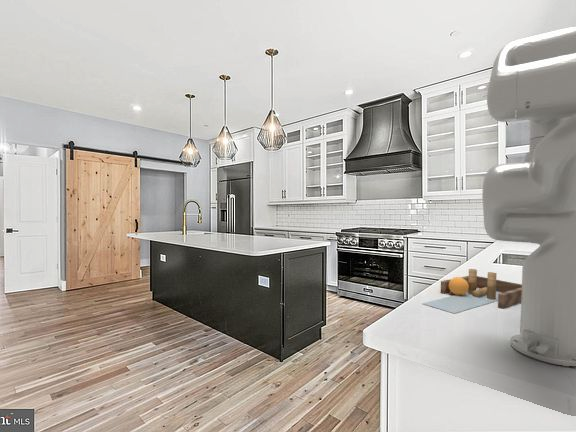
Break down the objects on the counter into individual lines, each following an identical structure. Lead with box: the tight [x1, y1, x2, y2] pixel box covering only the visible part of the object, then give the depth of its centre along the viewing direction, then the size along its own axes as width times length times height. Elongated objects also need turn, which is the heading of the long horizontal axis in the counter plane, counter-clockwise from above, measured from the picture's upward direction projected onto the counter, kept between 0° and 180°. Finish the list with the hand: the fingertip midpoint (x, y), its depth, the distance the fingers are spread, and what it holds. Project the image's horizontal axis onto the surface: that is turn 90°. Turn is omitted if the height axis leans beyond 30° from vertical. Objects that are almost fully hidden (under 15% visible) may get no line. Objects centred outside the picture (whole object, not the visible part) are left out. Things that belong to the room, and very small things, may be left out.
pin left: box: [467, 268, 478, 295], centre depth 106 cm, size 2×2×8 cm
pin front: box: [472, 287, 487, 297], centre depth 105 cm, size 2×2×8 cm
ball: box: [449, 276, 469, 295], centre depth 106 cm, size 6×6×6 cm
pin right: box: [487, 271, 498, 300], centre depth 101 cm, size 2×2×8 cm
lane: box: [421, 291, 502, 314], centre depth 100 cm, size 36×10×1 cm, turn 122°
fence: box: [440, 275, 522, 309], centre depth 105 cm, size 20×20×4 cm
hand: (545, 217), depth 80 cm, fingers closed
